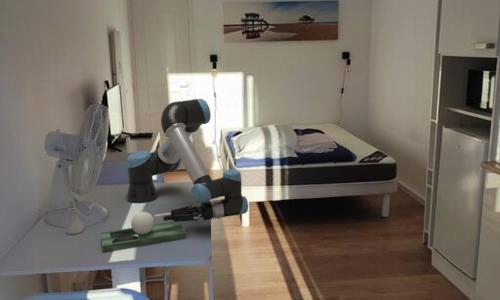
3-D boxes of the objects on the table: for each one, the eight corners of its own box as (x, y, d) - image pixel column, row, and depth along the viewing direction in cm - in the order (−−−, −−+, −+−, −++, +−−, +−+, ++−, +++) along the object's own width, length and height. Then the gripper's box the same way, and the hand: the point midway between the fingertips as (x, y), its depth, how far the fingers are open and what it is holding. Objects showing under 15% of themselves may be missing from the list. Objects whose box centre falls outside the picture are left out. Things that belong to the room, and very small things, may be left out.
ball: (152, 223, 197) (131, 231, 194) (147, 204, 194) (126, 212, 190) (159, 233, 190) (137, 241, 187) (154, 214, 186) (132, 222, 183)
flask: (78, 235, 198) (75, 212, 195) (62, 234, 199) (59, 212, 197) (87, 228, 205) (85, 206, 202) (72, 227, 206) (69, 206, 204)
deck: (101, 238, 194) (100, 232, 193) (179, 225, 204) (178, 220, 204) (103, 252, 181) (102, 246, 181) (186, 238, 191) (185, 232, 191)
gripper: (216, 223, 194) (158, 233, 187) (207, 213, 206) (153, 221, 199) (215, 206, 193) (156, 215, 185) (207, 196, 205) (151, 204, 197)
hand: (154, 218), depth 192 cm, fingers closed
